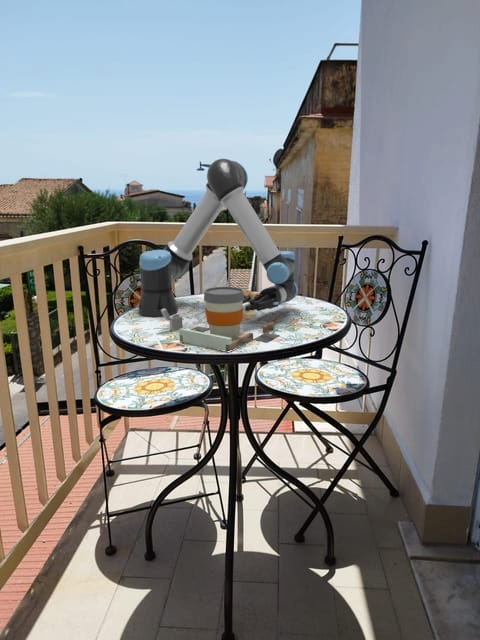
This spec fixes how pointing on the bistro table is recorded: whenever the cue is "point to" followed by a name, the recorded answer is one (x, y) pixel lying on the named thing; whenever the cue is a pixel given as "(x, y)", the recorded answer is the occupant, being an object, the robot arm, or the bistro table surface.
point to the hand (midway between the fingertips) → (238, 310)
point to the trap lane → (246, 338)
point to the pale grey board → (205, 339)
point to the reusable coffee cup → (224, 310)
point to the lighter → (173, 320)
